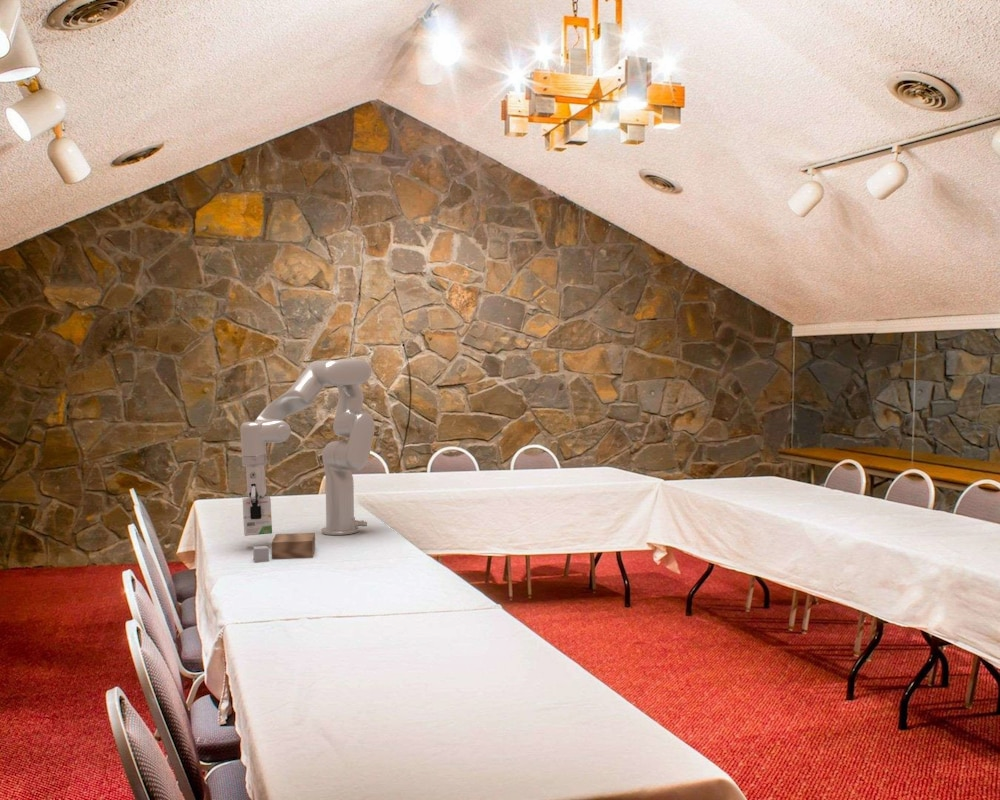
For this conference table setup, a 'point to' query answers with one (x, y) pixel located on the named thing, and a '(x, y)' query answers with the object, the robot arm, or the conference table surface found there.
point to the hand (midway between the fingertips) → (257, 516)
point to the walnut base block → (293, 545)
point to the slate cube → (261, 554)
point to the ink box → (257, 524)
